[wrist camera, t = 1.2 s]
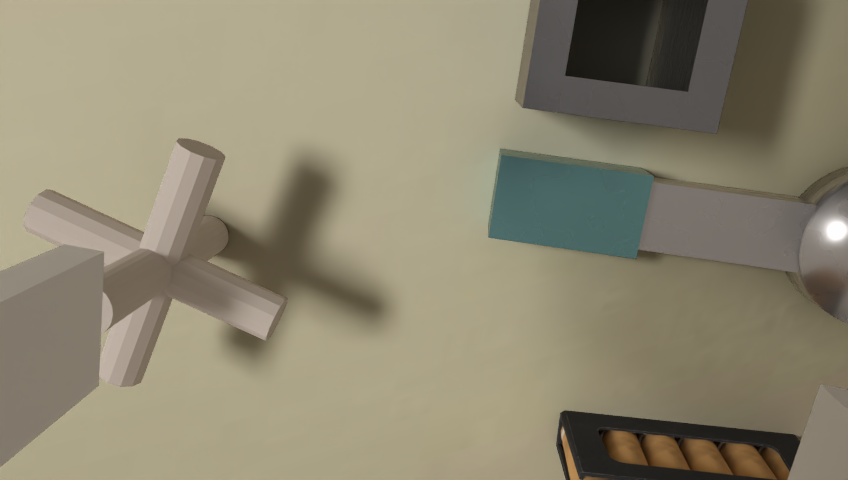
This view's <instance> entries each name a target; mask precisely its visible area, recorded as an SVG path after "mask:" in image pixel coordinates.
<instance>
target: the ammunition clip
mask: <svg viewBox="0 0 848 480" xmlns="http://www.w3.org/2000/svg"><path fill="white" fill-rule="evenodd" d="M799 445H800V441H799V440H798V438H797V437H796V436H795V435H793V434H783V433H774V432H764V431H755V430H745V429H736V428H726V427H717V426H707V425H698V424H688V423H679V422H669V421H660V420H651V419H641V418H632V417H622V416H613V415H603V414H594V413H584V412H575V411H563V412H562V413H560V420H559V428H558V435H557V443H556V446H557V450H558V453H559V457H560V460H561V464H562V468H563V471H564V475H565V478H566V480H787V479H788V476H789V473H790V471H791V468H792V465H793V462H794V459H795V456H796V453H797V450H798V447H799Z"/></svg>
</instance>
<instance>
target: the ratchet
mask: <svg viewBox="0 0 848 480" xmlns="http://www.w3.org/2000/svg"><path fill="white" fill-rule="evenodd" d="M488 237H489V238H495V239H502V240H509V241H516V242H523V243H530V244H537V245H544V246H551V247H558V248H564V249H571V250H578V251H585V252H592V253H599V254H606V255H613V256H620V257H626V258H633V259H636V257H637V253H638V250H644V251H651V252H658V253H665V254H672V255H679V256H686V257H693V258H700V259H707V260H714V261H720V262H727V263H734V264H741V265H748V266H755V267H762V268H769V269H776V270H783V271H786V274H787V276H788V277H789V279H790V281H791V282H792V284H793V285H794V286H795V287H796V288H797V290H798V291H800V292H801V293H802V294H803V295H804V296H805V297H807V298H808V299H810V300H811V301H812V302H814V303H815V304H817V305H818V306H819V307H821V308H822V309H824V310H825V311H826V312H828V313H829V314H831V315H832V316H834V317H835V318H837V319H839V320H841V321H843V322H846V323H848V167H845V168H842V169H839V170H836V171H834V172H832V173H829V174H828V175H826V176H824V177H822V178H821V179H819V180H818V181H816V182H815V183H814V184H812V185H811V186H810V187H809V188H808V189H807V190H806V191H805V192H804V193H803V194H802V195H801V196H800V197H799V198H798V197H795V196H788V195H780V194H773V193H766V192H759V191H751V190H744V189H737V188H730V187H723V186H715V185H708V184H701V183H694V182H686V181H679V180H672V179H665V178H658V177H654V176H653V175H652V174H650V173H648V172H647V171H645V170H644V169H642V168H637V167H630V166H623V165H616V164H608V163H601V162H594V161H587V160H579V159H572V158H565V157H558V156H550V155H543V154H536V153H529V152H521V151H514V150H507V149H500V153H499V159H498V166H497V172H496V179H495V185H494V191H493V198H492V204H491V211H490V217H489V224H488Z"/></svg>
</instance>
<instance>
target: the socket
mask: <svg viewBox="0 0 848 480" xmlns="http://www.w3.org/2000/svg"><path fill="white" fill-rule="evenodd" d="M747 2H748V0H664V2H663V6H662V11H661V16H660V21H659V26H658V31H657V36H656V40H655V45H654V50H653V55H652V60H651V65H650V70H649V75H648V79H647V84H646V86H639V85H632V84H624V83H616V82H609V81H601V80H594V79H586V78H578V77H571V76H565V73H566V67H567V61H568V56H569V50H570V44H571V39H572V33H573V27H574V21H575V16H576V10H577V4H578V0H531V2H530V9H529V15H528V21H527V28H526V34H525V40H524V46H523V53H522V59H521V65H520V72H519V78H518V84H517V91H516V97H515V100H516V101H517V102H518V103H519V104H520V105H521V107H522V108H528V109H536V110H543V111H551V112H558V113H566V114H573V115H581V116H588V117H595V118H603V119H610V120H618V121H625V122H633V123H640V124H647V125H655V126H662V127H670V128H677V129H685V130H692V131H700V132H707V133H714V134H717V130H718V126H719V121H720V117H721V113H722V109H723V104H724V100H725V96H726V92H727V87H728V83H729V79H730V75H731V70H732V66H733V62H734V58H735V53H736V49H737V45H738V41H739V36H740V32H741V28H742V24H743V19H744V15H745V11H746V7H747Z"/></svg>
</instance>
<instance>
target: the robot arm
mask: <svg viewBox="0 0 848 480" xmlns="http://www.w3.org/2000/svg"><path fill="white" fill-rule="evenodd" d="M103 274H104V251H98V250H93V249H88V248H82V247H77V246H71V245H66V244H64V245H62V246H59V247H57V248H55V249H52V250H50V251H48V252H45V253H43V254H40V255H38V256H36V257H33V258H31V259H29V260H26V261H24V262H22V263H19V264H17V265H15V266H12V267H10V268H7V269H5V270H3V271H0V467H1V466H2V465H3V464H5V463H6V462H7V461H8V460H9V459H11V458H12V457H13V456H14V455H15V454H17V453H18V452H19V451H20V450H22V449H23V448H24V447H25V446H26V445H28V444H29V443H30V442H31V441H32V440H34V439H35V438H36V437H37V436H38V435H40V434H41V433H42V432H43V431H44V430H46V429H47V428H48V427H49V426H51V425H52V424H53V423H54V422H55V421H57V420H58V419H59V418H60V417H61V416H63V415H64V414H65V413H66V412H67V411H69V410H70V409H71V408H72V407H73V406H75V405H76V404H77V403H78V402H80V401H81V400H82V399H83V398H84V397H86V396H87V395H88V394H89V393H90V392H92V391H93V390H94V389H95V388H96V387H98V386H99V370H100V346H101V322H102V298H103ZM787 480H848V389H844V388H839V387H833V386H828V385H822V384H820V387H819V390H818V393H817V395H816V398H815V401H814V404H813V407H812V410H811V413H810V416H809V419H808V421H807V424H806V427H805V430H804V433H803V436H802V439H801V442H800V445H799V447H798V450H797V453H796V456H795V459H794V462H793V465H792V468H791V471H790V473H789V476H788V479H787Z"/></svg>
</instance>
